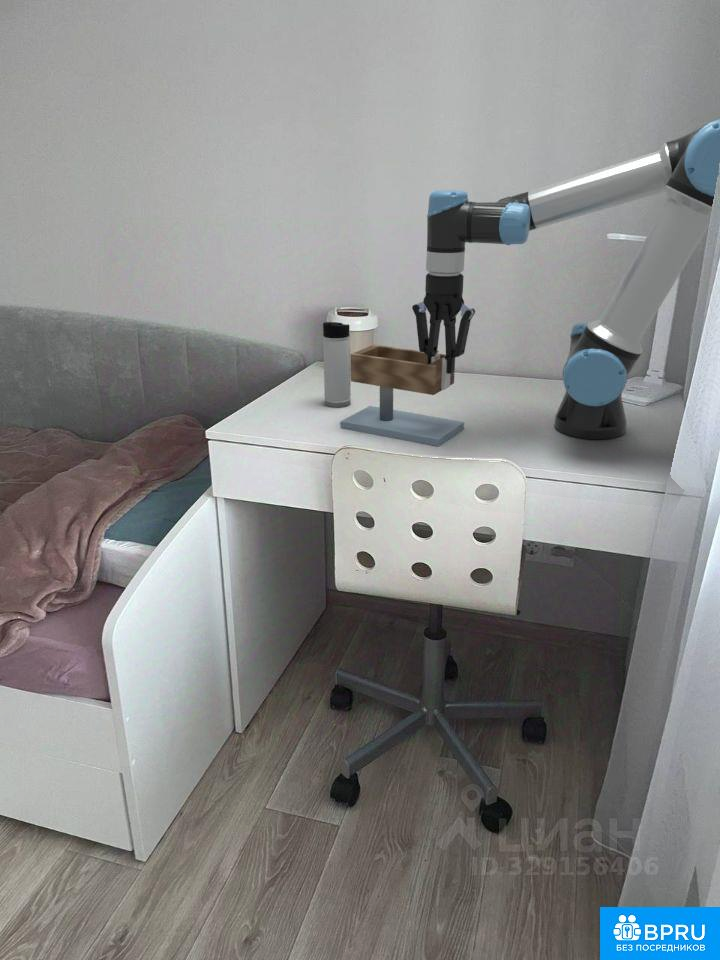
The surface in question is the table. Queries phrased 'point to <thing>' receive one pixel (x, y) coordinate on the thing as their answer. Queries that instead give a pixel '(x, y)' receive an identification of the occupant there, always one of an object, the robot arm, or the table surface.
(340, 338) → the travel mug
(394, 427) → the plate
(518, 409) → the table surface
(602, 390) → the robot arm
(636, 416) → the table surface
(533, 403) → the table surface
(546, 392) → the table surface
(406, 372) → the wooden storage tray
